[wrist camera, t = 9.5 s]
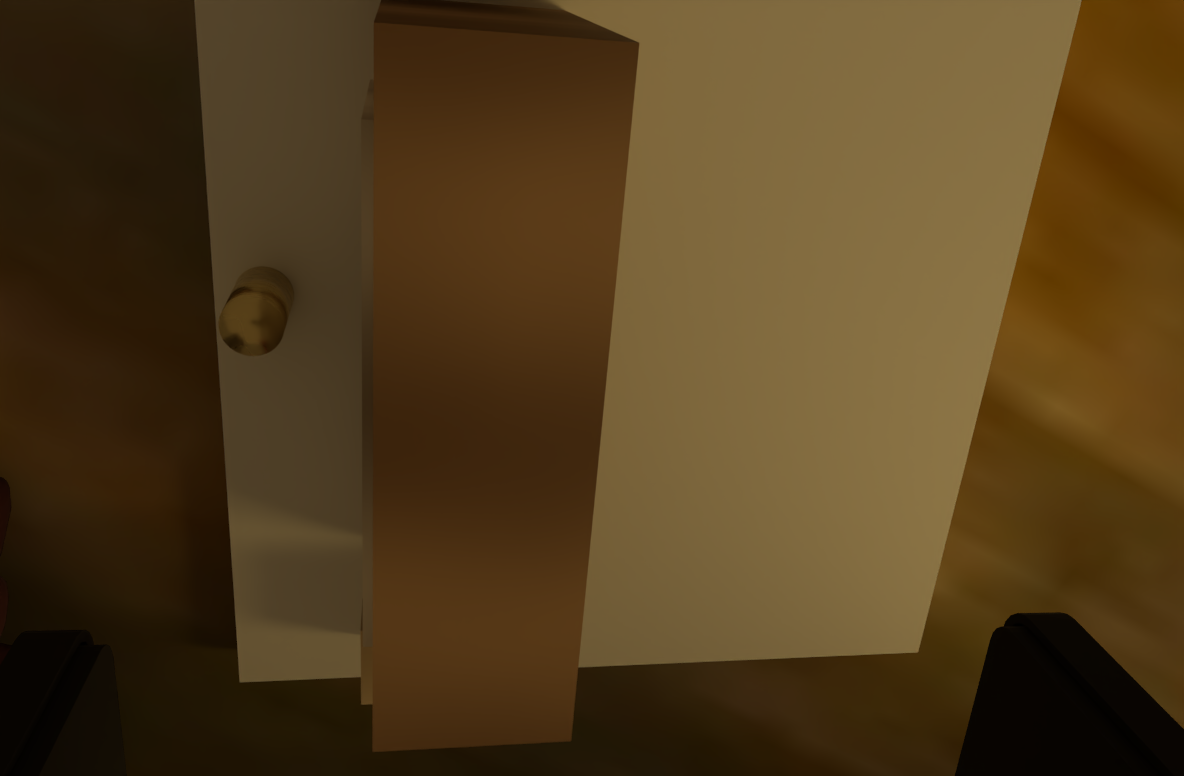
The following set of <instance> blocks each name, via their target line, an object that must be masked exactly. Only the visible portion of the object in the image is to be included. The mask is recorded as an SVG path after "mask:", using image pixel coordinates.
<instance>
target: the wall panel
mask: <svg viewBox="0 0 1184 776" xmlns="http://www.w3.org/2000/svg"><path fill="white" fill-rule="evenodd" d="M445 1H458V2H470V3H482V4H494V5H506V6H519V7H531V8H543V9H555V10H565V11H567V12H570V13H572V14H574V15H577V16H579V17H581V18H584V19H586V20H588V21H590V22H593V23H595V24H597V25H600V26H602V27H604V28H607V29H609V30H611V31H613V32H616V33H618V34H620V35H623V36H625V37H627V38H630V39H632V40H634V41H636V42H639V53H638V64H637V74H636V84H635V94H634V104H633V115H632V125H631V135H630V145H629V155H628V166H627V176H626V186H625V196H624V206H623V217H622V227H621V237H620V247H619V257H618V268H617V278H616V288H615V298H614V308H613V318H612V329H611V339H610V349H609V359H608V369H607V380H606V390H605V400H604V410H603V420H602V431H601V441H600V451H599V461H598V471H597V482H596V492H595V502H594V512H593V522H592V533H591V543H590V553H589V563H588V573H587V584H586V594H585V604H584V614H583V624H582V635H581V645H580V655H579V665H578V667H598V666H621V665H644V664H666V663H689V662H711V661H734V660H756V659H779V658H801V657H824V656H847V655H869V654H892V653H914V652H918V650H919V646H920V642H921V638H922V634H923V630H924V626H925V622H926V618H927V614H928V610H929V606H930V602H931V598H932V594H933V590H934V586H935V583H936V579H937V575H938V571H939V567H940V563H941V559H942V555H943V551H944V547H945V543H946V539H947V535H948V531H949V527H950V523H951V519H952V515H953V511H954V507H955V503H956V499H957V495H958V491H959V487H960V483H961V479H962V475H963V471H964V467H965V463H966V459H967V455H968V451H969V447H970V443H971V439H972V435H973V431H974V427H975V423H976V419H977V415H978V411H979V407H980V403H981V399H982V395H983V391H984V387H985V383H986V379H987V375H988V371H989V367H990V363H991V359H992V355H993V351H994V347H995V343H996V339H997V335H998V331H999V327H1000V323H1001V319H1002V315H1003V311H1004V308H1005V304H1006V300H1007V296H1008V292H1009V288H1010V284H1011V280H1012V276H1013V272H1014V268H1015V264H1016V260H1017V256H1018V252H1019V248H1020V244H1021V240H1022V236H1023V232H1024V228H1025V224H1026V220H1027V216H1028V212H1029V208H1030V204H1031V200H1032V196H1033V192H1034V188H1035V184H1036V180H1037V176H1038V172H1039V168H1040V164H1041V160H1042V156H1043V152H1044V148H1045V144H1046V140H1047V136H1048V132H1049V128H1050V124H1051V120H1052V116H1053V112H1054V108H1055V104H1056V100H1057V96H1058V92H1059V88H1060V84H1061V80H1062V76H1063V72H1064V68H1065V64H1066V60H1067V56H1068V52H1069V48H1070V44H1071V40H1072V36H1073V33H1074V29H1075V25H1076V21H1077V17H1078V13H1079V9H1080V5H1081V1H1082V0H445ZM380 2H381V0H194V3H195V18H196V33H197V48H198V63H199V78H200V93H201V108H202V123H203V138H204V153H205V168H206V183H207V198H208V213H209V228H210V243H211V258H212V273H213V288H214V303H215V318H216V334H217V349H218V364H219V379H220V394H221V409H222V424H223V439H224V454H225V469H226V484H227V499H228V514H229V529H230V544H231V559H232V574H233V589H234V604H235V619H236V634H237V649H238V664H239V679H240V682H260V681H283V680H305V679H328V678H350V677H361V614H362V598H363V578H362V246H361V118H362V113H363V109H364V104H365V100H366V96H367V91H368V87H369V82H370V79H372V80H374V20H375V17H376V14H377V11H378V8H379V5H380ZM259 266H265V267H271V268H274V269H276V270H278V271H280V272H281V273H283V274H284V275H285V276H286V277H287V278H288V280H289V281H290V283H291V284H292V287H293V291H294V300H293V304H292V308H291V311H290V314H289V318H288V321H287V324H286V328H285V331H284V334H283V337H282V340H281V342H280V343H279V345H278V346H277V347H276V348H275V349H274V350H272V351H271V352H269V353H267V354H264V355H260V356H247V355H243V354H240V353H237V352H236V351H234V350H232V349H231V348H230V347H229V346H228V345H226V343H225V342H224V341H223V339H222V337H221V335H220V332H219V327H218V322H219V317H220V314H221V312H222V310H223V308H224V306H225V304H226V302H227V300H228V298H229V296H230V294H231V292H232V290H233V287H234V285H235V283H236V281H237V279H238V278H239V276H240V275H241V274H242V273H244V272H245V271H246V270H248V269H250V268H253V267H259Z"/></svg>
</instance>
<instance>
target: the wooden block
mask: <svg viewBox="0 0 1184 776" xmlns="http://www.w3.org/2000/svg"><path fill="white" fill-rule="evenodd" d="M638 53H639V42H636V41H634V40H632V39H630V38H627V37H625V36H623V35H620V34H618V33H616V32H613V31H611V30H609V29H607V28H604V27H602V26H600V25H597V24H595V23H593V22H590V21H588V20H586V19H584V18H581V17H579V16H577V15H574V14H572V13H570V12H567V11H565V10H555V9H543V8H531V7H519V6H506V5H494V4H482V3H470V2H458V1H445V0H381V2H380V5H379V8H378V11H377V14H376V17H375V20H374V80H372V79H370V82H369V87H368V91H367V96H366V100H365V104H364V109H363V113H362V118H361V246H362V578H363V647H373V748H372V752H383V751H402V750H420V749H438V748H457V747H475V746H493V745H512V744H530V743H548V742H566V741H571V737H572V726H573V716H574V706H575V696H576V686H577V675H578V665H579V655H580V645H581V635H582V624H583V614H584V604H585V594H586V584H587V573H588V563H589V553H590V543H591V533H592V522H593V512H594V502H595V492H596V482H597V471H598V461H599V451H600V441H601V431H602V420H603V410H604V400H605V390H606V380H607V369H608V359H609V349H610V339H611V329H612V318H613V308H614V298H615V288H616V278H617V268H618V257H619V247H620V237H621V227H622V217H623V206H624V196H625V186H626V176H627V166H628V155H629V145H630V135H631V125H632V115H633V104H634V94H635V84H636V74H637V64H638Z"/></svg>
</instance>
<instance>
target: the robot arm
mask: <svg viewBox="0 0 1184 776" xmlns="http://www.w3.org/2000/svg"><path fill="white" fill-rule="evenodd" d="M0 776H127V774H126V765H125V756H124V748H123V739H122V730H121V721H120V712H119V704H118V695H117V686H116V677H115V668H114V660H113V654H112V650H111V648H110V646H108V645H94V644H93V639H92V637H91V635H90V633H89V632H88V631H86V630H59V631H26V632H23V633H21V634H20V635H19V637H18V638H17V639H16V640H15V642H14V643H13V645H12V647H11V648H10V650H9V651H8V653H7V655H6V656H5V658H4V659H3V661H2V662H1V664H0ZM955 776H1184V729H1183V728H1182V727H1181V726H1180V725H1179V724H1178V723H1177V722H1176V721H1175V720H1174V719H1173V718H1172V717H1171V716H1170V715H1169V714H1168V713H1167V712H1166V711H1165V710H1164V709H1163V708H1162V707H1161V706H1160V705H1159V704H1158V703H1157V702H1156V701H1155V700H1154V699H1153V698H1152V697H1151V696H1150V695H1149V694H1148V693H1147V692H1146V691H1145V690H1144V689H1143V688H1142V687H1141V686H1140V685H1139V684H1138V683H1137V682H1136V681H1135V680H1134V679H1133V678H1132V677H1131V676H1130V675H1129V674H1128V673H1127V672H1126V671H1125V670H1124V669H1123V668H1122V667H1121V666H1120V665H1119V664H1118V663H1117V662H1116V661H1115V660H1114V659H1113V658H1112V657H1111V656H1110V655H1109V654H1108V653H1107V652H1106V651H1105V650H1104V649H1103V648H1102V647H1101V646H1100V645H1099V643H1098V642H1097V641H1096V640H1095V639H1094V638H1093V637H1092V636H1091V635H1090V634H1089V633H1088V632H1087V631H1086V630H1085V629H1084V628H1083V627H1082V626H1081V625H1080V624H1079V623H1078V622H1077V621H1076V620H1075V619H1073V618H1072V617H1071V616H1069V615H1068V614H1065V613H1016V614H1014V615H1011V616H1010V617H1009V618H1008V619H1007V620H1006V622H1005V624H1004V627H999V628H997V629H996V630H995V631H994V632H993V634H992V637H991V639H990V643H989V647H988V651H987V655H986V658H985V662H984V666H983V670H982V674H981V678H980V681H979V685H978V689H977V693H976V697H975V701H974V704H973V708H972V712H971V716H970V720H969V724H968V727H967V731H966V735H965V739H964V743H963V747H962V750H961V754H960V758H959V762H958V766H957V770H956V773H955Z"/></svg>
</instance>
